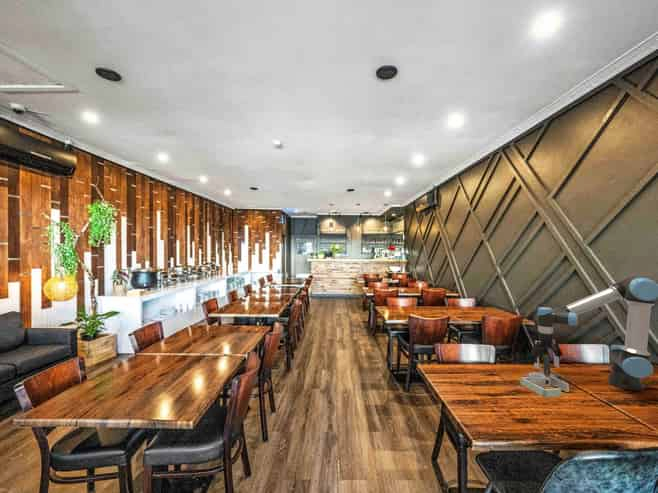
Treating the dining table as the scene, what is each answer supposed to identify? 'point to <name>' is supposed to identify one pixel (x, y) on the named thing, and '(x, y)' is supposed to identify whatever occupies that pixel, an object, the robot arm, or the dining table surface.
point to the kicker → (552, 377)
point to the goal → (537, 389)
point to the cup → (539, 379)
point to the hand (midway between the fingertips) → (546, 367)
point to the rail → (554, 374)
